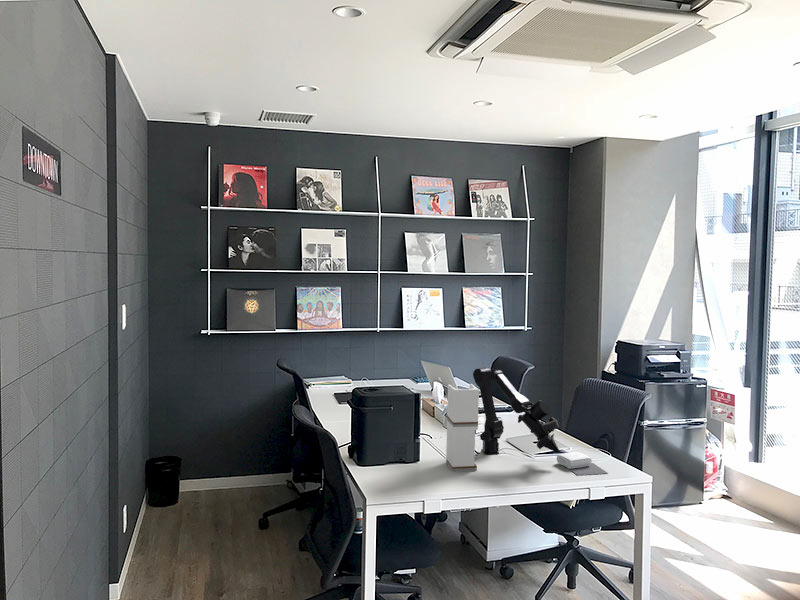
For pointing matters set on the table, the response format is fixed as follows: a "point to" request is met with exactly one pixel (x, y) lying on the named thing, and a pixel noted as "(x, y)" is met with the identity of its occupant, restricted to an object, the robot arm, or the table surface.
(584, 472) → the mat
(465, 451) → the stacked white pillar
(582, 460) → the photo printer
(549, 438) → the robot arm
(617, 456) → the table surface
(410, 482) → the table surface
